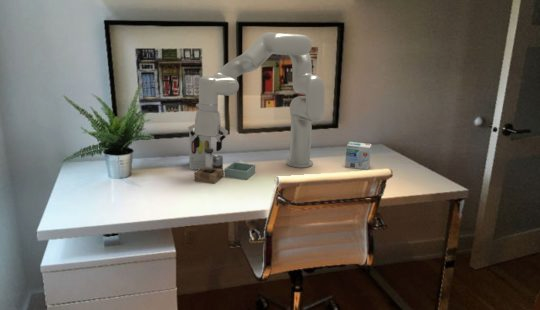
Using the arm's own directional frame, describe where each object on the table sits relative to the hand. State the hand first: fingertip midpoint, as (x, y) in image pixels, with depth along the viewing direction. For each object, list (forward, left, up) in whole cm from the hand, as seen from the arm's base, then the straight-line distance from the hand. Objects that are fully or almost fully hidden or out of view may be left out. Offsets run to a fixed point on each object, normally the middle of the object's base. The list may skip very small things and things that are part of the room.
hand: (207, 148), depth 194 cm
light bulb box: (-42, +56, -13) cm, 72 cm away
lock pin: (0, 0, -13) cm, 13 cm away
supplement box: (-14, -11, -13) cm, 22 cm away
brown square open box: (0, 0, -13) cm, 13 cm away
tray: (-10, +10, -13) cm, 20 cm away
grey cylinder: (-9, -1, -13) cm, 16 cm away
